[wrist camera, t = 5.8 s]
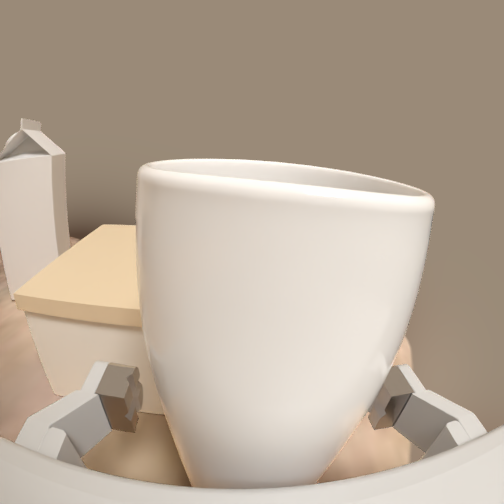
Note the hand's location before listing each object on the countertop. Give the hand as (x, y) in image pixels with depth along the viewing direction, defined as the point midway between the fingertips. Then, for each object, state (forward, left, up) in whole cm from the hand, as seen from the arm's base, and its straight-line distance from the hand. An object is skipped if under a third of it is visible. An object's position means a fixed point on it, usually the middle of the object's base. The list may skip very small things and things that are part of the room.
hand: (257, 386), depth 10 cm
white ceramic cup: (0, -1, -8) cm, 8 cm away
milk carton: (-23, +20, -8) cm, 32 cm away
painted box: (-6, +12, -8) cm, 16 cm away
